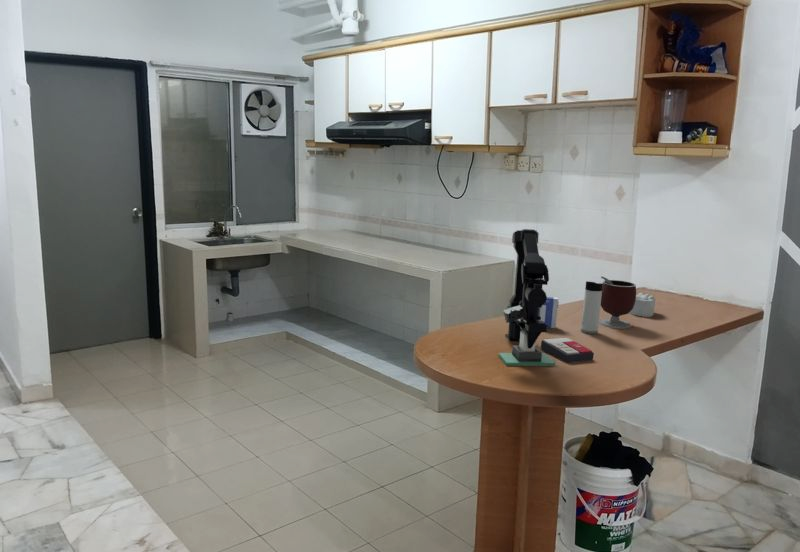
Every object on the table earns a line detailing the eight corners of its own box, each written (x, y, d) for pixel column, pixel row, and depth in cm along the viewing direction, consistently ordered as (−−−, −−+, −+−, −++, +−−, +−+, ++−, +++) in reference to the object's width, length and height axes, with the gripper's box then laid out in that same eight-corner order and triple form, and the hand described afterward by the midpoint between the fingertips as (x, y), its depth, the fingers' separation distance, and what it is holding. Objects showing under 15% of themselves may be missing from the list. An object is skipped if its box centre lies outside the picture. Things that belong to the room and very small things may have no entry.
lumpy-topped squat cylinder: (624, 313, 289) (626, 294, 288) (632, 308, 300) (635, 289, 298) (649, 318, 284) (651, 298, 282) (656, 312, 294) (659, 293, 293)
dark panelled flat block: (567, 353, 216) (541, 338, 230) (565, 365, 217) (539, 349, 231) (594, 350, 221) (567, 335, 234) (593, 362, 222) (566, 347, 235)
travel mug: (577, 331, 256) (582, 280, 252) (585, 328, 261) (590, 278, 257) (592, 335, 252) (597, 283, 248) (600, 332, 257) (605, 281, 253)
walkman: (536, 326, 260) (538, 296, 258) (535, 324, 263) (537, 295, 261) (556, 328, 260) (559, 298, 257) (555, 326, 262) (558, 296, 260)
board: (498, 355, 221) (499, 344, 220) (544, 356, 223) (545, 344, 222) (506, 365, 211) (507, 353, 210) (554, 365, 213) (556, 354, 212)
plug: (518, 351, 218) (520, 329, 217) (532, 351, 219) (534, 329, 217) (522, 355, 214) (524, 332, 213) (536, 355, 215) (538, 333, 213)
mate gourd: (618, 319, 279) (623, 272, 275) (639, 328, 266) (645, 279, 262) (586, 320, 274) (591, 273, 270) (606, 329, 261) (612, 279, 257)
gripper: (499, 292, 221) (495, 337, 224) (515, 305, 203) (511, 354, 206) (531, 293, 222) (527, 338, 225) (550, 306, 204) (545, 355, 207)
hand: (527, 346), depth 216 cm, fingers open, 4 cm apart
